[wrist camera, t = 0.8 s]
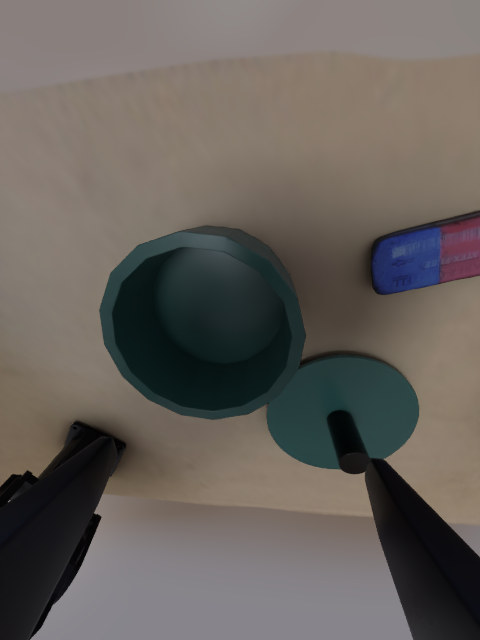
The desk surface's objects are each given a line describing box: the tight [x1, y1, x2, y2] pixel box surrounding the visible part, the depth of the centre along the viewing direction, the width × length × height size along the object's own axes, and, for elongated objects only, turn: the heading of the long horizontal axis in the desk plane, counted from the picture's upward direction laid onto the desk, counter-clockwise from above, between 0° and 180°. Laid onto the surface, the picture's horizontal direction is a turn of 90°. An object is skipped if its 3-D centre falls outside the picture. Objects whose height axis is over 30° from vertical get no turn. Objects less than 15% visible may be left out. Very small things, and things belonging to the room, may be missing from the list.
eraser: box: [371, 211, 480, 295], centre depth 17 cm, size 11×4×2 cm, turn 104°
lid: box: [267, 355, 419, 474], centre depth 22 cm, size 14×14×6 cm
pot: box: [99, 226, 306, 420], centre depth 18 cm, size 13×13×6 cm
